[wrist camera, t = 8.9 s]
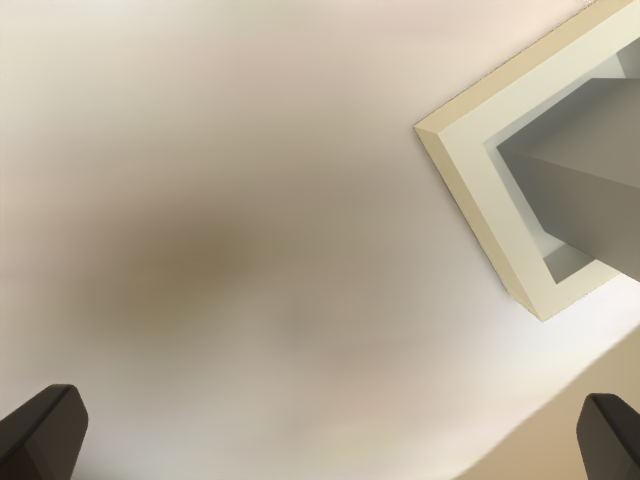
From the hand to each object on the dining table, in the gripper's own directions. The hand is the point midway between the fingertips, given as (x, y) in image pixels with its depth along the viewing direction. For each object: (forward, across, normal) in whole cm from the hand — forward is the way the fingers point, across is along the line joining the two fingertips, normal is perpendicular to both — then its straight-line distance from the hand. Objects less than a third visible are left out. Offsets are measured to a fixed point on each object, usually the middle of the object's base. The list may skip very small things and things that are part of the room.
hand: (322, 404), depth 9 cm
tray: (+15, -9, +1) cm, 17 cm away
